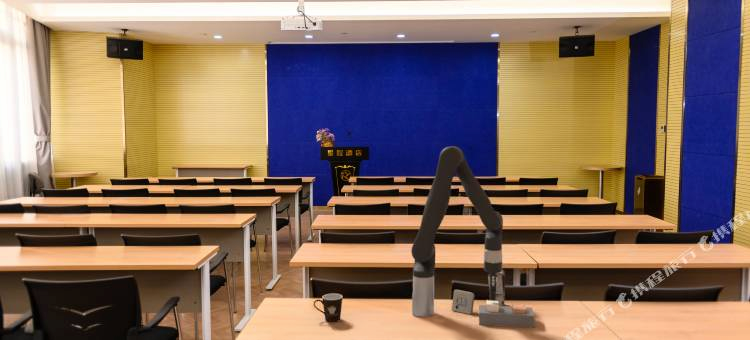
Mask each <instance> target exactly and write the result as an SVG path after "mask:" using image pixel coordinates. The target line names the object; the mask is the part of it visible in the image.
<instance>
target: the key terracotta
mask: <svg viewBox="0 0 750 340" xmlns="http://www.w3.org/2000/svg"><path fill="white" fill-rule="evenodd" d="M512 307H513V313H524V314H526V305H520V304H512Z"/></svg>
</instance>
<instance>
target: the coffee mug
mask: <svg viewBox="0 0 750 340" xmlns="http://www.w3.org/2000/svg"><path fill="white" fill-rule="evenodd" d="M321 297H322V300H321V299H316V300H314V301H313V306H314V308H315V309H316V310H317V311H319V312H320V313H322V314H323V315H324V319H325V321H326V322H328V323H337V322H340V321H341V314H342V305H343V295H342V294H340V293H327V294H326V293H325V294H324V295H322V296H321ZM316 302H321V304H322V306H323V311H322V310H321V309H319V308H318V307H317V306H316Z"/></svg>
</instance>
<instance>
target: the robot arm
mask: <svg viewBox="0 0 750 340" xmlns="http://www.w3.org/2000/svg"><path fill="white" fill-rule="evenodd" d="M455 175H456V176H457V178H458V179H459V181H460V183H461V185H462V187H463V190H464V192H465V195H466V197H467V198H468V200H469V201H470V203H471V204H472V206H473V208H474V209H475V210H476V211H477V214H478V217H479V219H480V220H481V222H482V223H481V224H483V226H484V227H485V228H486V229H485V230H486V231H485V233H486V234H485V237H484V249H483V250H484V252H483V270H484V272H486V273H488V275H487V279H488V287H489V301H490V300H491V301H495V300H496V287H497V281H498V275H496V273H499V272H501V271H502V270H503V251H502V250H503V241H502V240H503V239H502V237H503V229H504V228H503V226H504V219H503V216H502V214H501V213H500V212H499V211H495V210H494V208H493V206H492V202H491V200H490V198H489V196H488V195H487V193H486V192H485V190H484V188H482V186H481V184H480V182H479V181H478V180H477V178H476V177H475V174H474V173H473V172H472V170H471V168H470V165H469V163H468V161H467V159H466V157H465V154H464V151H463V150H462V149H461V148H460V147H458V146H454V145H452V146H446V147H444V148H443V149H442V150H441V151H440V153H439V158H438V162H437V168H436V171H435V176H434V179H433V182H432V184H431V187H430V189H429V192H428V195H427V199H426V201H425V204H424V205H425V206H424V209H423V213H422V217H421V221H420V226H419V229H418V232H417V234H416V237H415V239H414V241H413V244H412V246H411V250H410V251H411V256H412V258H413V259H414V263H413V268H412V295H411V303H412V304H411V305H412V306H411V314H412V316H416V317H421V318H422V317H423V318H426V317H432V316H433V315H435V268H436V245H435V238H436V235H437V232H438V230H439V229H440V226H441V224H442V222H443V220H444V218H445V215H446V213H447V209H448V207H449V204H450V200H451V190H452V183H453V178H454V177H455Z"/></svg>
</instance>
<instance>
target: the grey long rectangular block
mask: <svg viewBox="0 0 750 340" xmlns="http://www.w3.org/2000/svg"><path fill="white" fill-rule="evenodd" d="M525 307H526V306H525ZM478 308H479V309H478V325H481V326H496V327H498V326H499V327H514V328H515V327H516V328H530V329H532V328H533V329H534V328H535V314H534V310H533V307H526V314H524V313H513V306H507V305H504V306H499V312H487V311H486V304H479V305H478Z"/></svg>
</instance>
